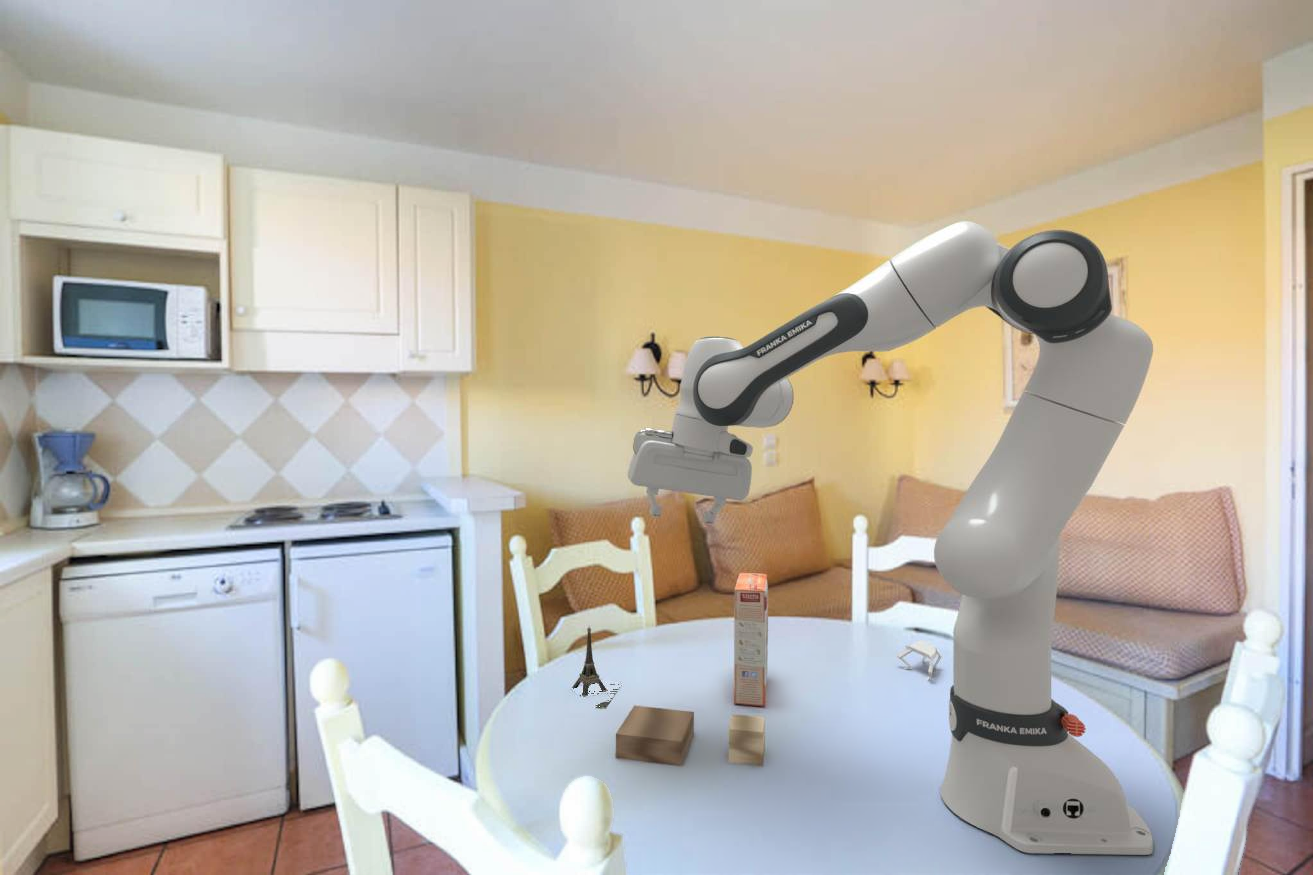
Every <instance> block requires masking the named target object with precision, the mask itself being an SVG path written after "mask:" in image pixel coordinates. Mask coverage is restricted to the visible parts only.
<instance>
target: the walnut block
mask: <svg viewBox="0 0 1313 875" xmlns="http://www.w3.org/2000/svg"><path fill="white" fill-rule="evenodd" d="M694 736H695V711H690V710H680V709H673V708H671V709H670V708H661V707H652V706H643V705H633V706H632V708H631V710H630V711H629V713H628V714H627V716H626V717H625V719H624V720H623V722H622V723H621V725H620V727H619V728H618V730H617V731H616V733H615V759H620V760H625V761H634V762H635V761H636V762H643V763H645V762H646V763H650V764H651V763H652V764H657V765H658V764H659V765H666V766H674V767H683V763H684V761H685V758H686V756H687V753H688V751H689V748H690V746H691V743H692V740H693V738H694Z"/></svg>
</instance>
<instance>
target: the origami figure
mask: <svg viewBox="0 0 1313 875" xmlns="http://www.w3.org/2000/svg"><path fill="white" fill-rule="evenodd" d="M912 652H914V653H917V654H918V655H920V656H922V659H921V662H922V663H923V664H926V662H925V660H926V658H927V659H929V660H930V662H929V666H928V670H927V671H928V677H927V678H926V679H925V681H926V682H928V681H930V679H931V678H932V677H933V676H932V675H933V669H934V671H936V670H937V668H936V667H937V665H938V663H939V662H940V660H941V659H942V655H941V653H940V652H939V651H938V650H937V646H935V645H932V644H931V643H928V642H927V641H925V640H923V639H920V640H918V641H916V642H914V643H912V644H909V645H906V644H905V650H903V651H900V653H898V654H897V655H896V657H897V658H898V659H900V660H901V661H902V662H904V664H906V665H907V666H906V667H902V669H903V670H908V669H911V668H912V669H913V666H912V665H911V663H909V662H908V661H907V660H906V659H905V658H904V657H906V656H907V655H908V654H910V653H912ZM937 656H938V657H937ZM936 657H937V659H936V660H935V664H934V659H935V658H936Z"/></svg>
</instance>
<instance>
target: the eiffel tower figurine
mask: <svg viewBox="0 0 1313 875" xmlns="http://www.w3.org/2000/svg"><path fill="white" fill-rule="evenodd" d="M586 631H587V641H586V642H587V643H586V653H585V661H584V662H583V664H584V665H583V668H582V672H581V673H579V675H580V676H578V678H577V680H576V681H575V683H574V684H573V685H572V687H571V688H573V689H574V688H577V687H578V686H580V684H581V683H582V685H583V693H582V696H583V697H586V696H588V694H589V693H588V688H589V686H590V685H591V684H595V683H597V684H599V686H600V688H601V690H602V691H599V692H606V691H608V690H607V689H606V688H605V686H604V685H603V683H602V682H601V680H602V679H601V678H600V674H598V672H597V670H596V667H595V662H594V659H593V657H594V656H593V648H592V635H591V634H592V633H591V632H592V628H591V627H590V626H588V628H587V629H586ZM610 685H615V684H610ZM618 685H619V684H618ZM620 688H621V687H619V689H620ZM619 689H613V690H618V691H619ZM618 691H610V692H616V693H610V694H614V695H616V694H617V693H618ZM589 692H590V691H589ZM594 692H595V691H594ZM591 694H594V693H591ZM597 695H600V694H599V693H597ZM586 698H587V697H586ZM610 699H612V700H613V699H614V697H613V698H610ZM612 700H610V701H609V699H607V700H606V701H609V702H606V701H602V702H599V703H600V704H598V703H597V704H598V705H595V709H602V710H604V709H607V707H608V706H609V704H610V703H611V701H612ZM596 706H597V707H596ZM599 706H600V707H599Z"/></svg>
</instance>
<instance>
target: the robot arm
mask: <svg viewBox="0 0 1313 875" xmlns="http://www.w3.org/2000/svg"><path fill="white" fill-rule="evenodd" d="M1111 297H1112V296H1111V291H1110V280H1109V271H1108V266H1107V263H1106V259H1105V257H1104V255H1103V253H1102V252H1101V250H1100V248H1099V247H1098V246H1097V245H1096V244H1095V243H1094V242H1093V241H1092V240H1090V239H1089V238H1088V237H1087V236H1085V235H1082V234H1080V233H1077V232H1076V231H1075V232H1074V231H1070V230H1067V229H1066V230H1063V229H1053V230H1051V229H1050V230H1044V231H1040V232H1038V233H1034V234H1032V235H1029V236H1028V237H1025V238H1024V239H1022V240H1020V241H1019V242H1017V243H1016V244H1015V245H1014V246H1012V247H1007V246H1005V245H1003V244H1002V243H1000V242H999V241H998V238H996V236H995V235H994V234H993V233H992V232H991V230H988V228H986V227H985V226H983V225H981V224H978V223H976V222H973V221H970V220H969V221H967V220H965V221H964V220H962V221H958V222H955V223H952V224H950V225H948V226H945V227H944V228H942V229H939V230H937V231H935V232H933V233H931V234H929V235H928V236H926V237H924V238H922V239H920V240H918V241H916V242H915V243H913V244H911V245H910V246H908V247H907V248H904V249H903V250H902V251H899V253H897V254H896V255H894V256H893V257H891V258H890V259H888V260H887V261H886V262H884V263H883V264H881V265H879V266H878V267H876V269H874V270H872V271H871V272H870V273H868V274H866V275H865V276H863V277H861V279H859V280H858V281H856V282H855V283H853V284H851V285H850V286H848V287H847V288H845V289H844V290H841V291H840V292H838V293H836V294H835V295H833V296H831V297H830V298H828V299H826V300H824V301H823V302H821V303H818V304H816V305H814V306H813V307H811V308H809V309H808V310H806V311H804V312H802V313H801V314H799V315H798V316H795V317H794V318H793V319H791V320H789V321H788V322H786V323H784V324H783V325H781V326H779V327H777V328H776V329H774V330H772V331H771V332H770V333H768V334H766V335H765V336H763V337H762V338H760V339H758V340H756V341H754V342H753V343H750V344H749V345H747V346H745V347H743V344H742V343H741V342H740V341H738V339H735V338H732V337H727V336H715V335H714V336H705V337H701V338H699V339H697V340H695V341H694V343H693V344H692V345H691V347H690V349H689V352H688V355H687V356H686V360H685V364H684V368H683V373H682V377H681V381H680V386H679V387H680V389H679V390H680V400H679V403H678V406H677V407H676V410H675V412H674V416H673V417H674V418H673V422H672V426H671V427H672V428H671V431H669V430H662V429H661V430H658V429H654V428H651V427H646V428H645V429H642V430H639V431H638V432H637V433H635V435H634V439H633V444H632V450H633V454H632V458H631V460H630V463H629V468H628V470H627V471H628V472H627V478H628V479H629V481H630V483H632V485H634V486H637V487H644V488H646V494H647V495H646V496H647V498H648V501H649V503H650V504H649V505H650V506H649V512H648V514H649V515H650V516H651V517H658V518H659V517H661V515H662V514H661V512H662V509H663V506H662V505H661V504H660V503H657V499H656V497H655V496H658V495H659V490H665V491H670V492H679V493H685V494H692V495H699V496H705V497H706V496H707V497H713V499H712V501H713V502H714V504H713V505H712V507H711V508H710V509H709V510H704V511H703V512H704V513H703V518H702V521H703V522H704V523H705V524H706V523H707V524H713V525H714V524H715V522H716V518H717V515H718V514H719V513H720V511H721V510H723V508H724V507H725V505H726V501H727V499H728V500H733V501H741V502H743V501H744V500H745V499H746V498H747V497H748V496H749V494H750V489H751V488H750V487H751V484H752V483H751V482H752V474H753V473H752V472H753V467H752V463H751V460H750V459H748V458H750V457H751V456H752V453H753V450H754V447H753V446H752V445H751V444H750V443H749V442H746V441H744V440H743V439H742V438H739V437H738V436H737V435H735V434H733V433H730V432H729V431H728V428H729V427H730V426H731V427H732V426H734V427H735V426H736V427H737V426H738V427H744V428H745V427H746V428H756V429H757V428H758V429H759V428H760V429H763V428H769V427H770V428H771V427H774V426H776V425H779V424H780V423H782V422H783V421H785V419H786V418H787V417H788V416H789V414H790V412H791V410H792V407H793V404H794V390H793V385H792V383H791V382H790V380H789V379H788V378H789V377H791V376H793V375H794V374H796V373H798V372H799V371H801V370H803V369H805V368H806V367H809V366H810V365H812V364H813V363H815V362H818V361H819V360H821V359H824V358H827V357H828V356H832V355H836V354H841V353H842V354H843V353H849V352H876V353H877V352H890V351H893V350H896V349H898V348H900V347H903V346H906V345H908V344H910V343H913V342H915V341H917V340H919V339H921V338H923V337H924V336H926V335H927V334H929V333H931V332H932V331H934V330H936V329H937V328H939V327H941V326H942V325H944V324H945V323H947V322H949V321H951V320H952V319H953V318H955V317H957V316H959V315H960V314H963V313H965V312H967V311H969V310H971V309H975V308H981V307H985V308H986V309H988V310H989V311H991V312H992V313H993V314H995V315H997V317H999V318H1000V319H1002V321H1004V322H1006V324H1008V325H1009V326H1011V327H1012V328H1014V329H1016V330H1018V331H1020V332H1023V333H1027V334H1030V335H1034V336H1035V338H1036V339H1037V342H1038V346H1039V352H1038V353H1039V354H1038V359H1037V362H1036V365H1035V367H1034V370H1033V371H1032V373H1031V375H1030V376H1029V379H1028V381H1027V383H1026V385H1025V386H1024V389H1023V391H1022V393H1021V396H1020V397H1019V399H1018V401H1017V403H1016V405H1015V407H1014V409H1013V412H1012V413H1011V415H1010V418H1009V420H1008V421H1007V423H1006V425H1005V428H1004V430H1003V432H1002V434H1001V436H1000V438H999V439H998V442H997V444H996V445H995V446H994V449H993V451H992V452H991V454H990V456H988V459H987V460H986V461H985V463H984V464H983V466H982V468H981V469H980V470H979V472H978V473H977V475H976V476H975V477H974V479H973V480H972V482H971V484H969V485H970V486H969V487H968V489H967V490H966V492H965V493H964V495H963V496H962V498H961V500H960V501H959V503H958V505H957V506H956V508H955V509H954V512H952V515H951V516H950V518H949V519H948V521H947V523H946V524H945V525H944V527H943V528H942V530H941V531H940V533H939V534H938V535H937V538H936V541H935V543H934V549H933V559H934V564H935V566H936V570H937V571H938V573H939V575H940V577H942V579H943V581H945V583H946V584H947V585H948V586H950V588H952V589H953V590H955V591H956V592H958V593H959V594H961V596H960V597H961V598H960V604H959V609H958V612H957V616H956V620H955V623H954V627H953V631H952V633H953V636H952V638H953V639H952V640H953V642H952V643H953V646H952V648H953V649H952V650H953V652H952V653H953V654H952V655H953V662H952V663H953V684H952V686H951V687H950V689H949V700H948V725H949V729H950V732H951V742H950V747H949V748H950V750H949V757H948V762H947V767H946V771H945V773H944V774H945V775H944V777H943V778H944V779H943V781H942V783H941V785H940V786H941V787H940V789H939V790H940V797H941V799H942V800H943V802H944V804H945V806H947V808H948V809H949V810H951V811H952V813H954V814H955V815H956V816H958V817H959V818H961V819H962V820H964V821H966V822H967V823H969V824H971V825H972V826H975V827H976V828H979V829H981V830H983V831H985V832H988V833H990V834H992V835H994V836H996V837H998V838H1000V839H1001V840H1003V841H1004V842H1006V843H1007V844H1008V845H1010V846H1012V847H1013V848H1014V849H1016V850H1018V851H1019V852H1020V851H1021V852H1023V853H1027V854H1054V853H1071V854H1070V855H1076V854H1077V855H1128V856H1129V855H1131V856H1132V855H1133V856H1134V855H1135V856H1136V855H1138V856H1142V855H1143V856H1144V855H1145V856H1146V855H1147V856H1149V855H1151V854H1153V851H1154V840H1153V835H1152V833H1151V831H1150V828H1149V827H1148V825H1147V824H1146V822H1145V821H1144V819H1143V818H1142V817H1141V816H1140V814H1138V812H1137V811H1136V810H1135V809H1134V808H1133V807H1132V806H1131V805H1129V803H1127V800H1126V796H1125V792H1124V789H1123V787H1122V785H1121V782H1120V781H1119V779H1118V777H1117V776H1116V774H1115V773H1114V772H1113V771H1112V769H1111V768H1110V767H1109V766H1108V765H1107V764H1106V763H1105V762H1104V761H1103V760H1102V759H1101V758H1100V757H1099V756H1097V755H1096V754H1095V753H1094V752H1092V751H1091V750H1090V749H1088V748H1087V747H1086V746H1085V745H1084V744H1083V743H1081V742H1080V741H1079V740H1077V739H1076V738H1077V737H1078V738H1079V737H1082V736H1083V734H1085V733H1086V730H1087V729H1086V725H1085V724H1084V723H1083V721H1081V720H1080V719H1079V718H1078V717H1077V716H1076V715H1075V714H1071V713H1069V711H1068V710H1067V709H1066V708H1065V707H1064V706H1063V705H1061V704H1059V703H1057V702H1056V701H1055V700H1053V698H1052V641H1053V640H1052V638H1053V629H1054V620H1055V611H1056V602H1057V592H1058V581H1059V580H1058V579H1059V565H1060V548H1061V546H1060V545H1061V539H1060V535H1061V533H1062V532H1063V530H1064V529H1065V527H1066V526H1067V524H1068V522H1069V520H1070V519H1071V517H1072V515H1074V513H1075V511H1076V510H1077V508H1078V506H1079V505H1080V503H1081V502H1082V501H1083V499H1084V498H1085V496H1086V494H1088V491H1089V490H1090V489H1091V487H1092V486H1093V484H1094V482H1095V481H1096V479H1097V476H1098V475H1099V473H1100V472H1101V470H1102V467H1103V465H1104V464H1105V462H1106V460H1107V458H1108V457H1109V455H1110V453H1111V452H1112V449H1113V448H1114V445H1115V443H1116V441H1117V440H1118V438H1119V437H1120V434H1121V433H1122V431H1123V429H1124V428H1125V425H1126V424H1127V421H1128V420H1129V418H1130V417H1131V413H1132V412H1133V411H1134V408H1135V406H1136V403H1137V401H1138V399H1139V396H1140V395H1141V391H1142V389H1143V387H1144V384H1145V381H1146V378H1147V374H1148V372H1149V370H1150V364H1151V362H1152V358H1153V353H1154V344H1153V341H1152V339H1151V337H1150V335H1149V334H1148V333H1147V332H1146V331H1145V330H1144V329H1143V328H1141V326H1139V325H1138V324H1136V323H1134V322H1132V321H1130V320H1128V319H1125V318H1123V317H1121V316H1118V315H1117V316H1116V315H1114V314H1111V313H1112V310H1113V306H1112V305H1113V304H1112V299H1111ZM1075 737H1076V738H1075Z"/></svg>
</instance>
